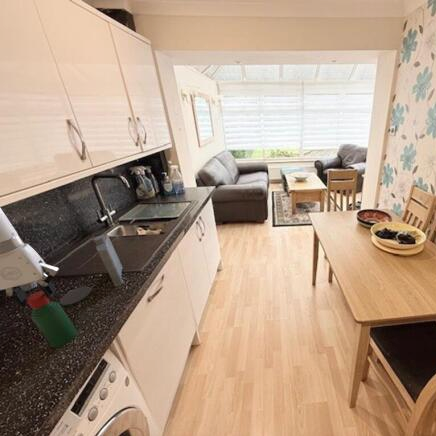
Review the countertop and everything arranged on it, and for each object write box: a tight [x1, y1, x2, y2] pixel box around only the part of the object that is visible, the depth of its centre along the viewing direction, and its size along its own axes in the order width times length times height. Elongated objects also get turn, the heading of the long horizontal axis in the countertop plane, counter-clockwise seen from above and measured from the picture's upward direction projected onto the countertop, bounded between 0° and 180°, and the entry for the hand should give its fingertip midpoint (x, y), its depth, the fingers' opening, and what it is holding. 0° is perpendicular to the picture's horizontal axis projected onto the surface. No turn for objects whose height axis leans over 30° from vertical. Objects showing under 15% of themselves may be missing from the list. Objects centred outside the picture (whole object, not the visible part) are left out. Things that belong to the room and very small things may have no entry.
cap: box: [26, 290, 51, 310], centre depth 69 cm, size 4×4×3 cm
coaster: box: [59, 286, 93, 307], centre depth 94 cm, size 10×10×1 cm
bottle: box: [30, 300, 78, 348], centre depth 73 cm, size 6×6×18 cm
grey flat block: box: [92, 233, 125, 288], centre depth 100 cm, size 16×4×20 cm, turn 35°
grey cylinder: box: [19, 281, 39, 292], centre depth 98 cm, size 4×4×10 cm
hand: (38, 298), depth 69 cm, fingers open, 5 cm apart
